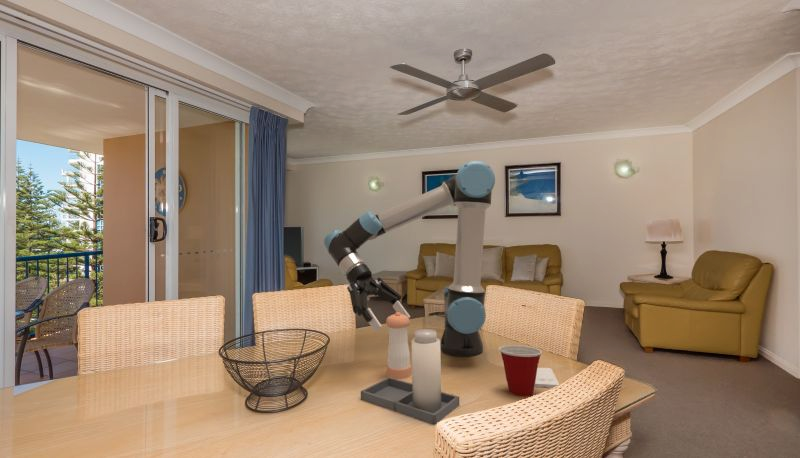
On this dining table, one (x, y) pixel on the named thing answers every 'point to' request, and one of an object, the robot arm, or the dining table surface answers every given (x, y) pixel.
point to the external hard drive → (545, 378)
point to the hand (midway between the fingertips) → (393, 324)
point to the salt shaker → (426, 371)
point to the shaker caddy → (406, 400)
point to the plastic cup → (520, 368)
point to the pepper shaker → (398, 347)
